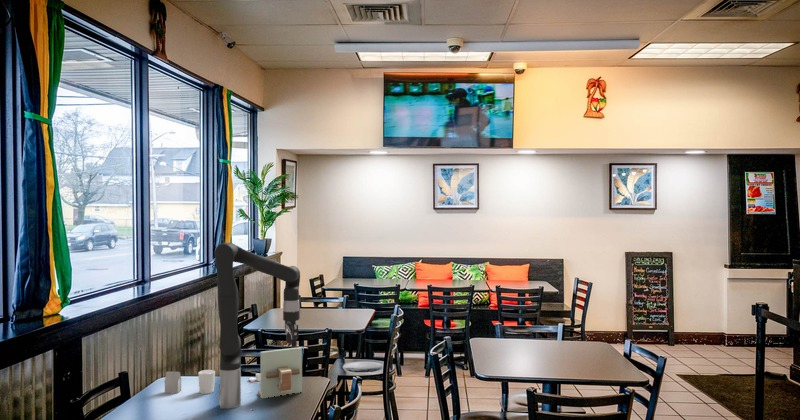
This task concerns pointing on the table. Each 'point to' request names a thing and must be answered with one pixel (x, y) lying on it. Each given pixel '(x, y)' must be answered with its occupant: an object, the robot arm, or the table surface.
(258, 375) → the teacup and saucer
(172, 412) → the table surface
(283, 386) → the wall cabinet
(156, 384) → the table surface
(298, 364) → the wall board
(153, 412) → the table surface
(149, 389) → the table surface
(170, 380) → the grey brown rectangular block
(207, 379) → the white cup
